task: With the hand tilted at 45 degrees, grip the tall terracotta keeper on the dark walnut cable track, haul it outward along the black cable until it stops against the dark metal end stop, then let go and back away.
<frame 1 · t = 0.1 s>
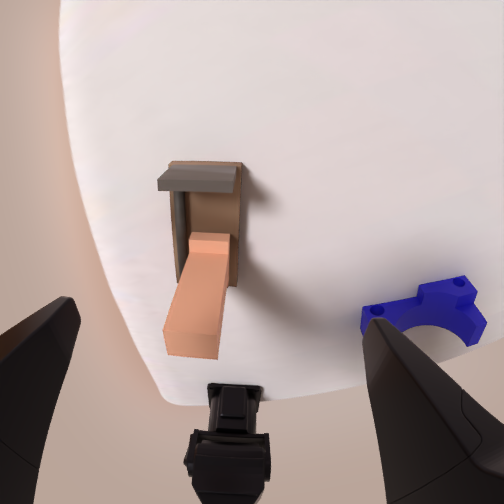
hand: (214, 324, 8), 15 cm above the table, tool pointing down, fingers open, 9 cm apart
cable track: (206, 224, 23), on the table
cable clip: (413, 299, 27), on the table
keeper: (202, 293, 19), point 6 cm above the table, slide at 0.0 cm
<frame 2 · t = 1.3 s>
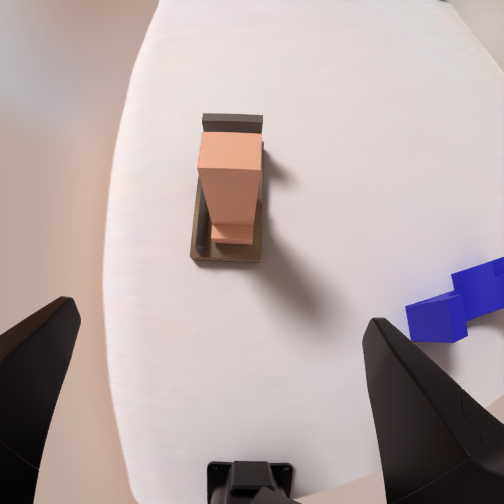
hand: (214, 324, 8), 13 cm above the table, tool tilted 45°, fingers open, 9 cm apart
cable track: (229, 198, 23), on the table
cable clip: (453, 298, 23), on the table
keeper: (232, 191, 17), point 6 cm above the table, slide at 0.0 cm
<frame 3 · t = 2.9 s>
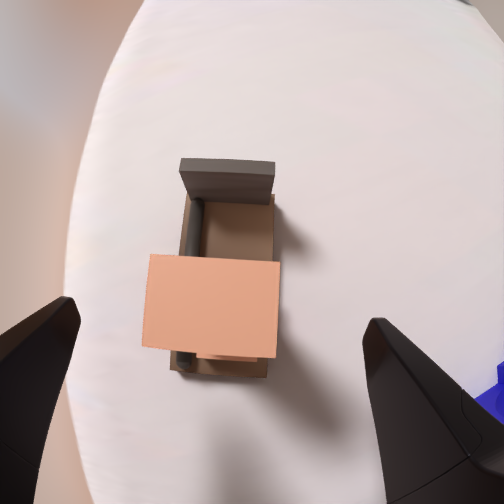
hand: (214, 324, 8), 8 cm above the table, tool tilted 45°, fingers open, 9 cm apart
cable track: (224, 282, 16), on the table
cable clip: (494, 391, 15), on the table
keeper: (224, 314, 10), point 6 cm above the table, slide at 0.0 cm
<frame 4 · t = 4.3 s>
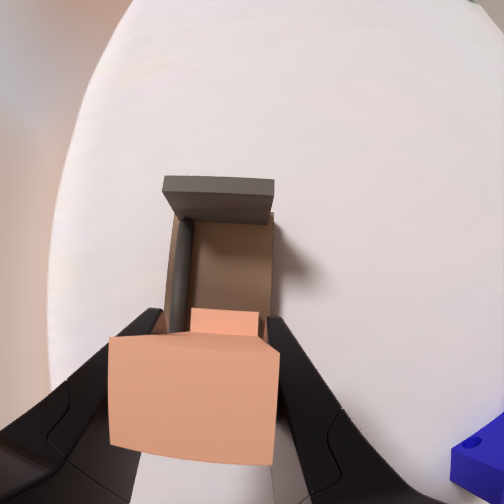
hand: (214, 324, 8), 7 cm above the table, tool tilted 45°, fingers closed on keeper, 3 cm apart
cable track: (218, 311, 15), on the table
cable clip: (502, 417, 13), on the table
keeper: (214, 369, 9), point 6 cm above the table, slide at 0.0 cm, touching gripper
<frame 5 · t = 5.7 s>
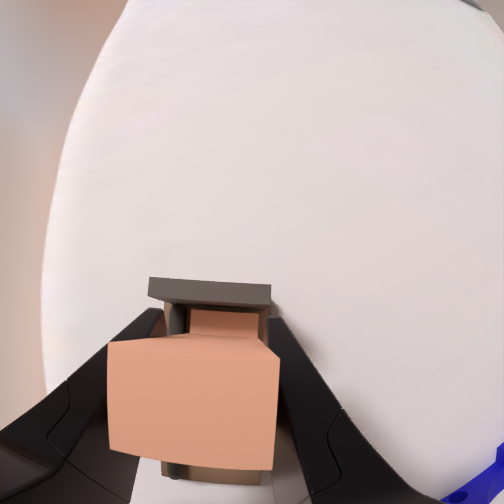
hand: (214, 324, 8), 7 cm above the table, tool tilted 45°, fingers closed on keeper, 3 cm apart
cable track: (213, 392, 14), on the table
cable clip: (492, 467, 12), on the table
keeper: (214, 371, 8), point 6 cm above the table, slide at 4.0 cm, touching gripper
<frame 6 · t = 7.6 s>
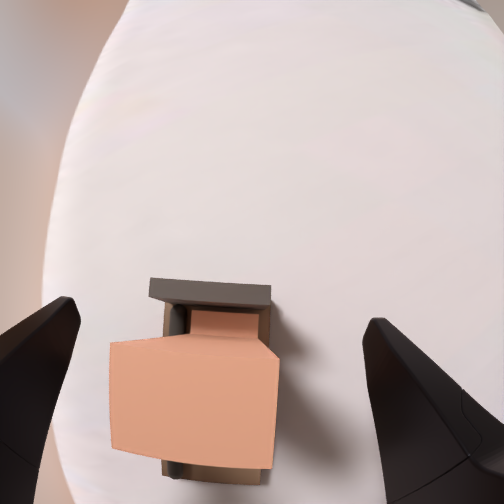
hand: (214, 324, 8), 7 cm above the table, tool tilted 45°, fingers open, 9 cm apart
cable track: (214, 392, 14), on the table
keeper: (214, 371, 9), point 6 cm above the table, slide at 4.0 cm
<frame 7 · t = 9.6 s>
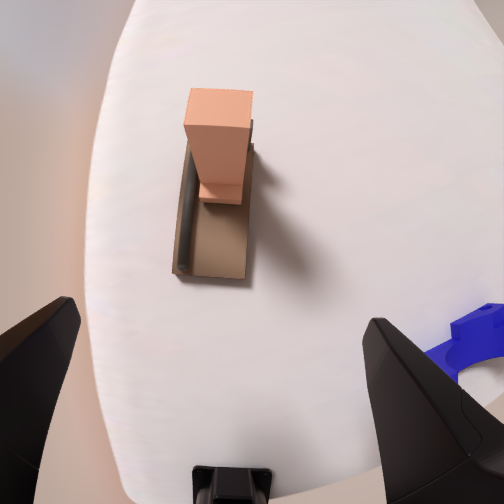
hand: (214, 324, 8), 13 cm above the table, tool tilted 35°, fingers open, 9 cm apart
cable track: (214, 207, 22), on the table
cable clip: (450, 345, 22), on the table
keeper: (221, 149, 16), point 6 cm above the table, slide at 4.0 cm
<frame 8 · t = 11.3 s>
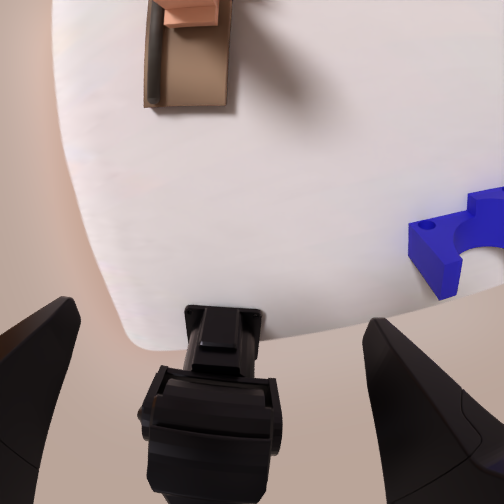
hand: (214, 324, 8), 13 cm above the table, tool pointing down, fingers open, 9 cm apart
cable track: (189, 31, 14), on the table
cable clip: (463, 216, 20), on the table
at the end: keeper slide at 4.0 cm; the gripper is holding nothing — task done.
